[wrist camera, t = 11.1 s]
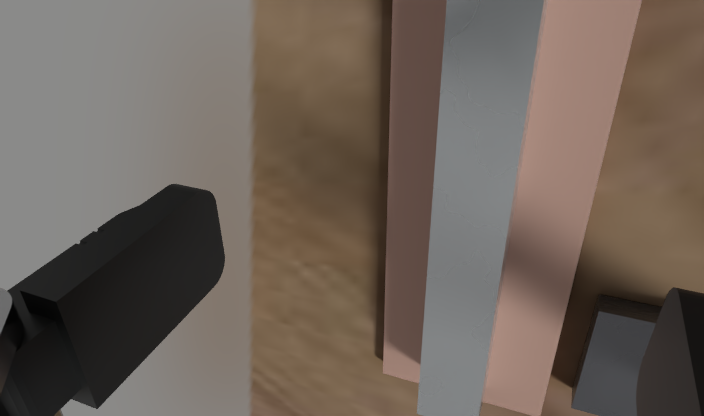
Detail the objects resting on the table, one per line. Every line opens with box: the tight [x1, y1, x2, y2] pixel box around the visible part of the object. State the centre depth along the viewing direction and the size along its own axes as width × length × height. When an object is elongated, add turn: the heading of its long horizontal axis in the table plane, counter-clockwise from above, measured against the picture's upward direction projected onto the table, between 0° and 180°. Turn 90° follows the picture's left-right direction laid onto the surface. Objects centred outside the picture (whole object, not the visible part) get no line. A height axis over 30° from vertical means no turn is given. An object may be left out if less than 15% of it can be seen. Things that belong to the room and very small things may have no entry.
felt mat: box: [383, 0, 642, 416], centre depth 18 cm, size 26×7×1 cm, turn 1°
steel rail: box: [417, 0, 548, 416], centre depth 16 cm, size 24×2×2 cm, turn 1°
